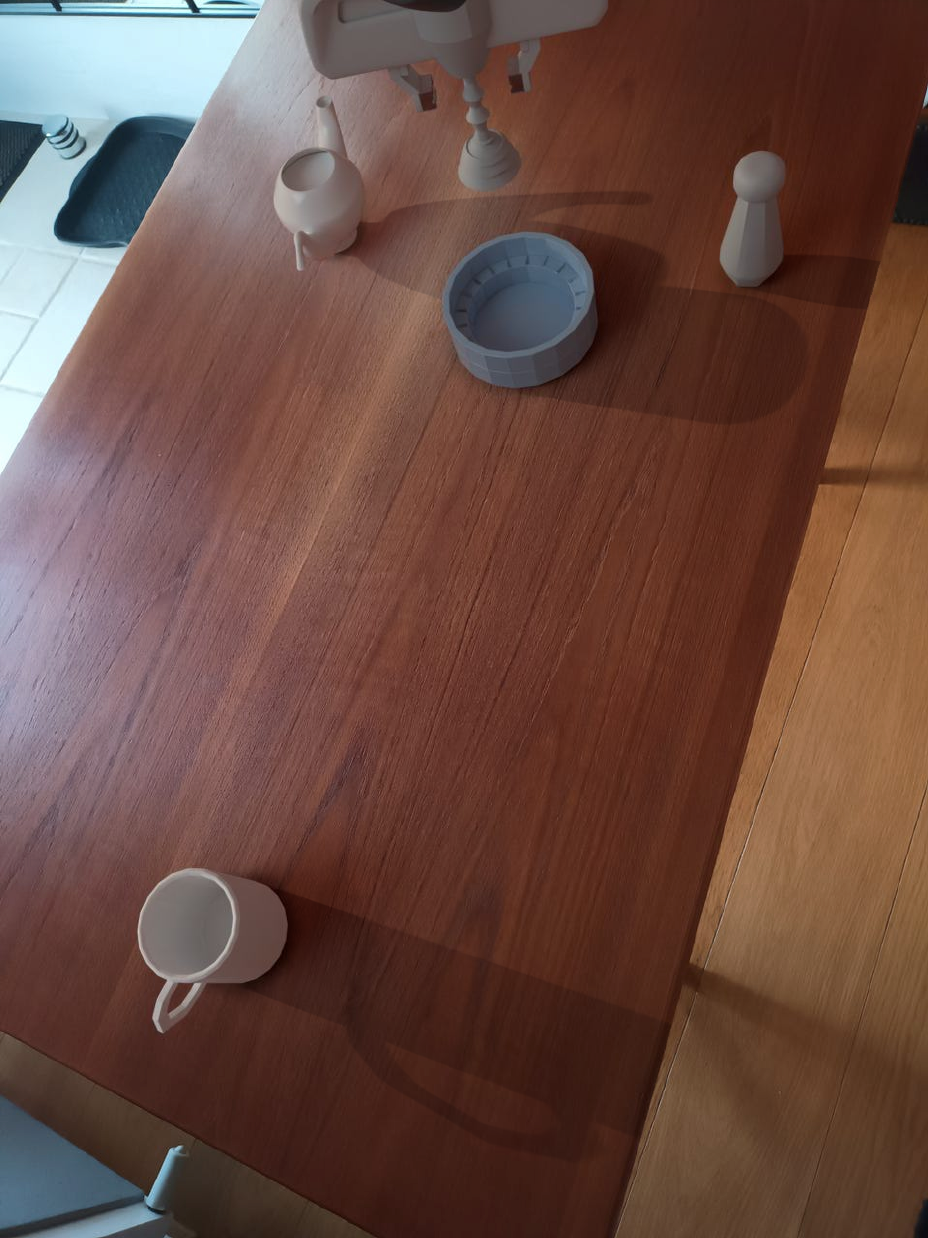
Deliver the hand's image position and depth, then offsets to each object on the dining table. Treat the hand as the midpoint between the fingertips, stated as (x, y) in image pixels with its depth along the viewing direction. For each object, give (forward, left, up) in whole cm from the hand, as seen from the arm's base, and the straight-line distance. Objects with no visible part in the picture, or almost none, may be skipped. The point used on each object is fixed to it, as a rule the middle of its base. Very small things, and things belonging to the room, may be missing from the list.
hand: (473, 96), depth 69 cm
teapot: (+20, -16, -28) cm, 38 cm away
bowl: (0, 0, -28) cm, 28 cm away
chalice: (0, 0, -7) cm, 7 cm away
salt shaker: (-22, -3, -28) cm, 36 cm away
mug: (+27, +58, -28) cm, 69 cm away
